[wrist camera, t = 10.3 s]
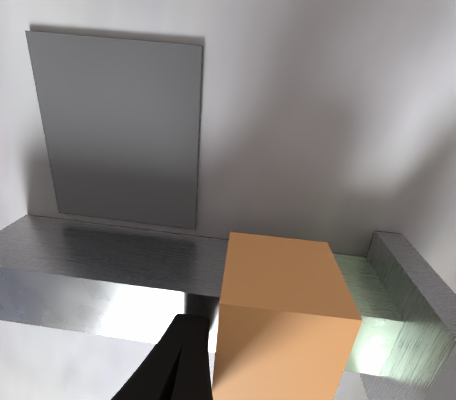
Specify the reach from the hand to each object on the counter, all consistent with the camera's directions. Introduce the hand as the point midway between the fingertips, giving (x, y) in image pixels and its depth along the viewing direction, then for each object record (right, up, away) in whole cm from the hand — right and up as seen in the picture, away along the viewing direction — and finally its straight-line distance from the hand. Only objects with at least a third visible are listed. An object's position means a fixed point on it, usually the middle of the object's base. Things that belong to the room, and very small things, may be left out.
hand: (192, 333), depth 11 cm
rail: (-1, +2, +4) cm, 5 cm away
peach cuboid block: (+3, +1, +2) cm, 4 cm away
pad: (-3, +8, +2) cm, 9 cm away
